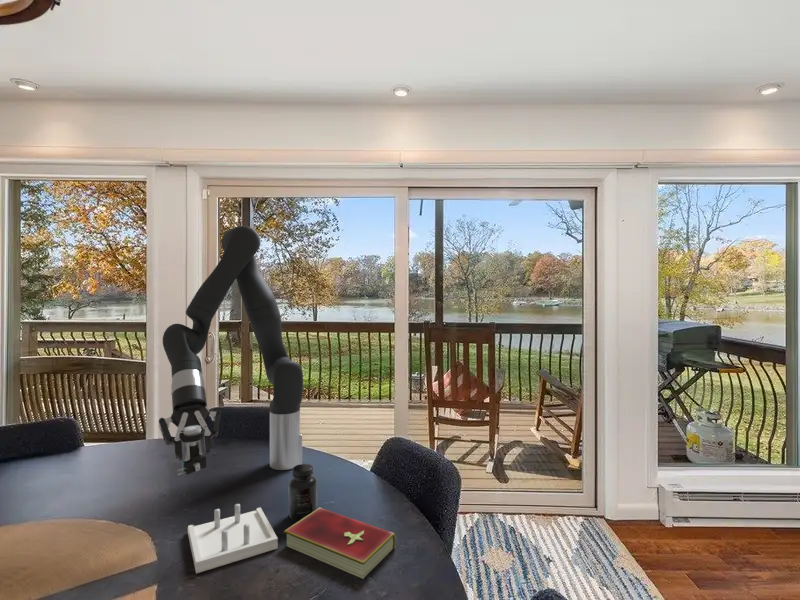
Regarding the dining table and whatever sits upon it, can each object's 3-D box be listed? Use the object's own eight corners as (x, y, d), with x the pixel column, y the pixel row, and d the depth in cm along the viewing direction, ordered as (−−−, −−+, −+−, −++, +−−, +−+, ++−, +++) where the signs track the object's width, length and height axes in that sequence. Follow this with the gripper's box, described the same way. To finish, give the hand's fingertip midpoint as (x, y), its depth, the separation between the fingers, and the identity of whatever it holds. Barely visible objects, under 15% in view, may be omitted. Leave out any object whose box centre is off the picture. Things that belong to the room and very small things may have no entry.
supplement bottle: (322, 511, 109) (322, 464, 108) (307, 525, 102) (308, 475, 102) (298, 506, 111) (298, 460, 110) (283, 520, 104) (282, 471, 104)
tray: (259, 514, 107) (259, 493, 107) (277, 548, 93) (277, 524, 93) (187, 533, 99) (187, 510, 98) (196, 573, 85) (195, 547, 85)
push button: (184, 480, 96) (182, 435, 95) (170, 474, 99) (168, 431, 98) (211, 468, 102) (209, 426, 101) (197, 462, 104) (195, 422, 104)
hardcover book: (320, 522, 104) (320, 505, 104) (395, 550, 94) (395, 531, 94) (284, 548, 94) (283, 529, 94) (363, 583, 83) (363, 561, 83)
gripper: (155, 387, 102) (157, 455, 92) (220, 380, 109) (229, 442, 100) (155, 404, 107) (158, 470, 97) (218, 396, 114) (226, 457, 104)
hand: (194, 456), depth 98 cm, fingers closed on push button, 5 cm apart
